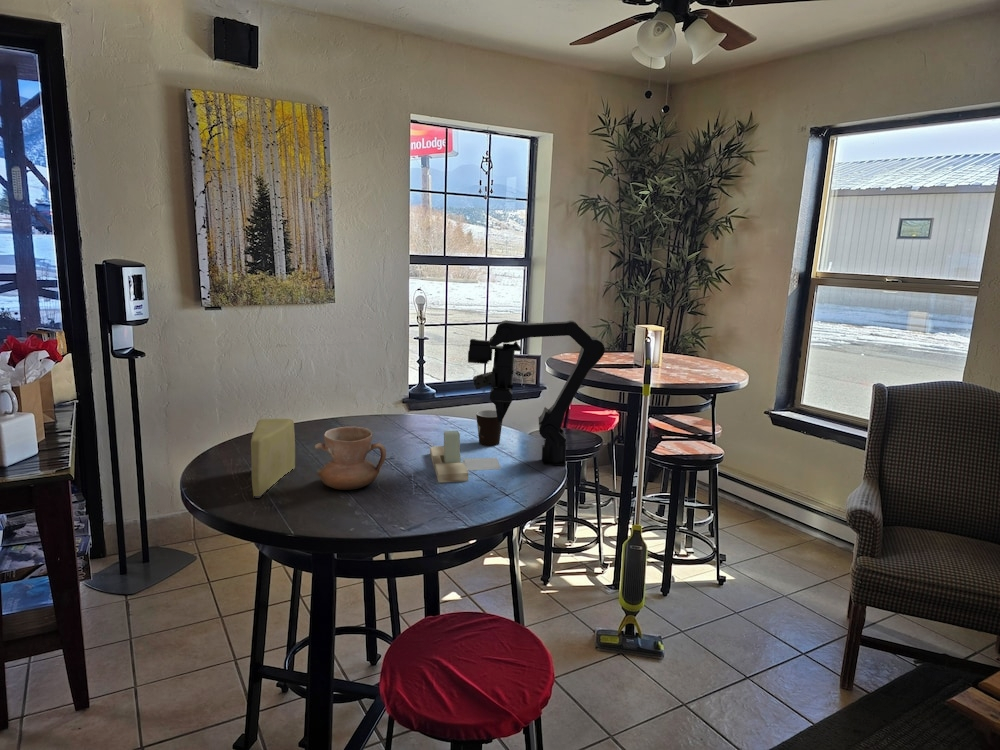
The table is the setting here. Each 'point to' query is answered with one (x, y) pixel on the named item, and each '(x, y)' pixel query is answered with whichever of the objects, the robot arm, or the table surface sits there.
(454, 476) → the block
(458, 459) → the sage block
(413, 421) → the table surface
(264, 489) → the cheese
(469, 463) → the mat
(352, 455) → the ceramic jug
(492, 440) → the coffee mug
